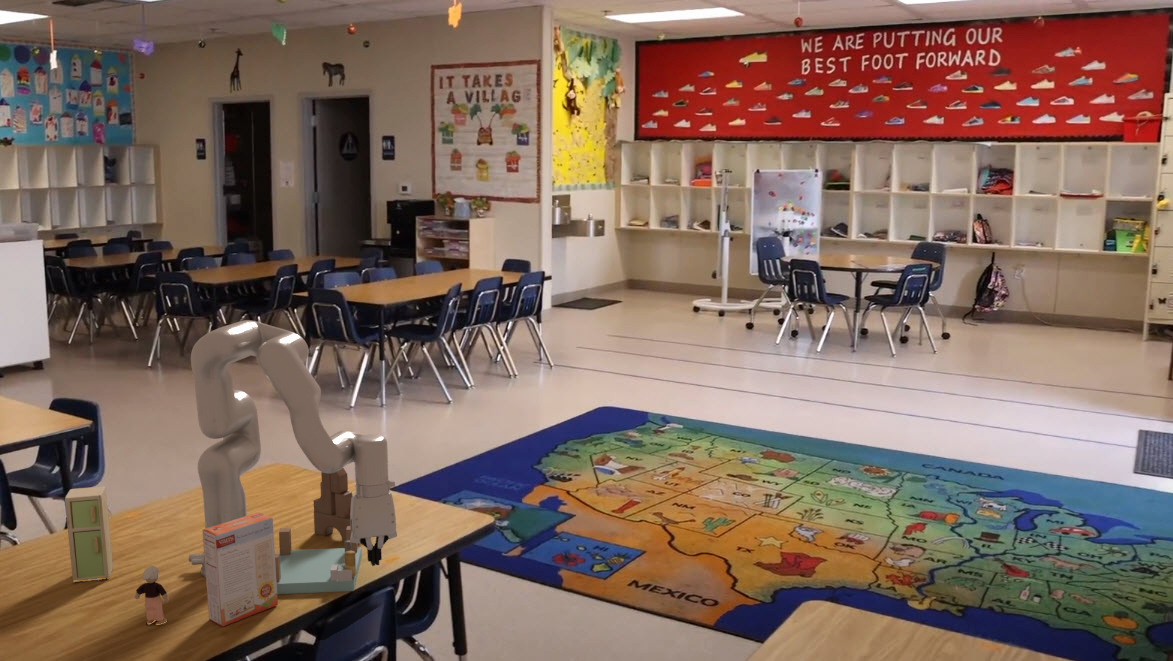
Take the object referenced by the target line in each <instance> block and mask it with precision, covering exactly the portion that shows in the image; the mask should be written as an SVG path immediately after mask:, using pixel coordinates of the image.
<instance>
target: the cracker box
mask: <svg viewBox="0 0 1173 661" xmlns="http://www.w3.org/2000/svg"><path fill="white" fill-rule="evenodd" d="M274 535H275V534H274V518H273V517H272V516H269V515H267V514H264V513H261V512H259V511H257V512H255V513H251V514H249V515H248V514H247V516H245V517H241V518H238V519H235V520H232V521H229V522H225V523H222V524H219V525H216V526H212V527H209V528H206V529H205V528H203V529H202V542H203V543H202V544H203V552H204V558H205V571H206V577H205V581H206V593H207V596H206V597H207V608H208V609H207V610H208V611H207V612H208V619H209V620H210V621H212V622H214V623H215V624H217V625H219V626H221V627H225V626H228V625H231V624H233V623H235V622H238V621H240V620H243V619H245V618H248V617H251V616H253V615H256V614H258V613H261V612H263V611H267V610H268V609H272V608H274V607H276V606H278V604H279V603H278V594H277V582H276V565H275V554H276V553H275V551H276V550H275V536H274Z"/></svg>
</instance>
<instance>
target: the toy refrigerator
mask: <svg viewBox="0 0 1173 661" xmlns="http://www.w3.org/2000/svg"><path fill="white" fill-rule="evenodd" d="M107 496H108V495H107V487H106V486H92V487H91V486H90V487H79V488H78V487H77V488H71V489H69V491H68V492H67V494H66V495H65V497H64V502H65V503H64V504H65V514H66V525H67V536H68V544H69V546H68V547H69V556H70V567H71V575H72V582H73V581H74V580H88V579H97V578H109V576H110V577H111V575H110V573H111V571H112V572H113V570H112V569H114V564H113V555H112V554H113V553H112V541H111V533H110V532H111V531H110V521H109V509H108V499H107V498H108V497H107ZM111 574H112V573H111ZM109 579H110V578H109Z"/></svg>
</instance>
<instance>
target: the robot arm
mask: <svg viewBox="0 0 1173 661" xmlns="http://www.w3.org/2000/svg"><path fill="white" fill-rule="evenodd" d="M251 356H253V357H256V362H257V364H258V366H259V368H260V370H261V371H262V372H263V374H264V375H265V377H266V378H267V380H268V381H269V383H270V384H271V385H272V387H273V388H274V390H275V391H276V393H277V394H278V396H279V397H280V399H281V400H282V402H284V405H285V406H286V407H287V410H288V411H289V418H290V419H289V420H290V423H291V427H292V432H293V434H294V437H295V440H296V442H297V444H298V446H299V447H300V449H301V451H302V452H303V453H304V455H305V456H306V459H307V460H308V462H310V463H311V465H313V467H315V469H316V470H318V471H319V472H323V473H327V474H331V473H335V472H337V471H339V470H340V469H342V468H345V467H346V466H347V465H349V464H352V463H354V478H355V479H354V481H355V482H354V483H355V484H354V485H355V486H354V487H355V492H354V493H352V499H351V509H350V529H351V532H352V533H351V538H350V540H351V542H352V543H358V544H361V545H362V546H363V547H365V548H366V549H367V551H366V552H367V561H368V562H370V564H371V566H372V567H375V566H379V565H380V561H382V549H383V547H384V545H385V544H386V543H387V542H388V540H392V539H394V538H397V537H398V532H397V519H396V518H397V517H396V510H395V503H394V497H393V493H392V490H391V488H395V487H396V482H395V480H393V481H392V480H389V461H388V460H389V459H388V458H389V454H388V441H387V438H386V437H384V436H383V435H381V434H373V433H372V434H362V433H358V432H355V431H350V430H340V431H337V432H335V433H334V434H332V435H331V436H330V435H329V434H328V432H327V430H326V429H325V427H324V425H323V423H322V421H321V417H320V412H319V411H320V410H319V408H320V401H321V397H322V396H321V395H322V389H321V387H320V385H319V383H318V382H317V381H316V379H315V378H314V376H313V375H312V374H311V372H310V371H309V369H308V367H307V366H306V365H305V364H304V363H305V362H306V361H307V359H308V356H309V346H308V344H307V342H306V340H305V339H304V338H303V337H302V336H301V335H299V334H297V333H295V332H293V331H290V330H287V329H284V328H280V327H277V326H273V325H269V324H267V323H263V322H259V321H255V320H250V319H248V320H247V319H245V320H240V321H237V322H234V323H231V324H228V325H224V326H221V327H218V328H216V329H214V330H211V331H210V332H208V333H206V334H205V335H203V336H201V337H200V338H199V339H198V340H197V341H196V342H195V343H194V345H193V347H192V350H191V353H190V364H191V365H190V366H191V370H192V377H193V382H194V383H193V384H194V394H195V401H196V411H197V420H198V425H199V429H200V431H201V433H202V434H203V435H204V436H205V437H207V438H209V439H213V440H217V439H222V440H219V441H217V442H216V443H214V444H212V445H211V446H209V447H207V449H205V450H204V451H203V452H202V454H201V455H200V457H199V459H198V461H197V474H198V477H199V478H198V479H199V481H200V485H201V490H202V499H203V511H204V512H203V514H204V529H206V528H209V527H212V526H216V525H219V524H222V523H225V522H229V521H232V520H235V519H238V518H241V517H245V516H248V512H247V499H246V497H247V496H246V492H245V489H244V486H243V484H242V480H241V476H242V475H244V474H245V473H247V472H248V471H250V470H251V469H252V468H254V467H255V466H256V465H257V464H258V462H259V460H260V458H261V454H262V444H261V443H262V442H261V436H260V427H259V426H260V425H259V417H258V416H259V415H258V411H257V410H258V409H257V407H256V404H255V401H254V400H253V398H252V397H251V396H250V395H249V394H248V393H246V392H245V391H243V390H239V389H234V379H233V375H232V373H231V371H230V369H229V367H228V365H230V364H232V363H235V362H237V361H240V360H243V359H245V358H248V357H251ZM372 538H375V542H374V544H373V542H372ZM188 563H191V565H192V566H194V565H195V566H197V565H201V568H200V574H201V576H202V577H204V578H206V571H205V558H204V551H203V553H189V555H188Z"/></svg>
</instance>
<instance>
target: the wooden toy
mask: <svg viewBox="0 0 1173 661" xmlns="http://www.w3.org/2000/svg"><path fill="white" fill-rule="evenodd" d="M320 472H321V471H320ZM320 476H321V481H320V483H319V484H320V497H319V498H316V499H314V500H313V526H314V527H313V528H314V534H315V535H319V536H323V537H325V536H328V535H331V534H333V533H334V529H335V530H337V531H338V533H339V535H340V536H341V541H342V542H343V543H345V541H347V539H346V529H347V526H350V509H351V499H352V494H353V492H352V491H349V484H348V479H349V478H348V473H347V471H346V469H345V467H343V468H342V469H340V470H339V471H337V472H335V473H331V474H327V473H323V472H321V474H320Z"/></svg>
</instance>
